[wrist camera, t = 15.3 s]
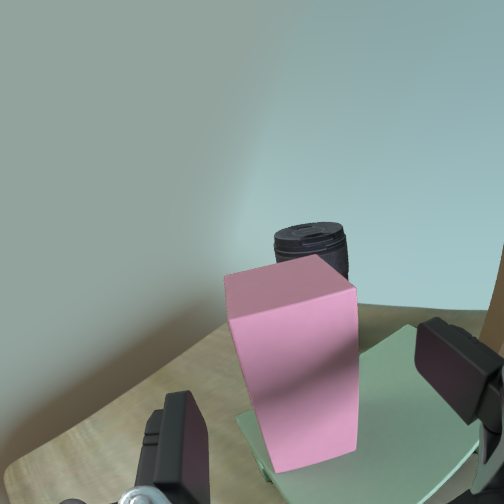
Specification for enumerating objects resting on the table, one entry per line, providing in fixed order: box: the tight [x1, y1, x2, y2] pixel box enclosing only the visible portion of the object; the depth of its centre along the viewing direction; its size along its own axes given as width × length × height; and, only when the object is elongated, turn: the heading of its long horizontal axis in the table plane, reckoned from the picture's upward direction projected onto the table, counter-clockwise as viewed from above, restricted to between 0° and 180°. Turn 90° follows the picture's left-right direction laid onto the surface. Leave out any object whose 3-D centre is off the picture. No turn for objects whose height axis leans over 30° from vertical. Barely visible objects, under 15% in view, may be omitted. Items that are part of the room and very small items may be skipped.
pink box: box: [224, 254, 359, 473], centre depth 13 cm, size 4×4×10 cm
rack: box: [235, 324, 481, 504], centre depth 15 cm, size 16×12×8 cm
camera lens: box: [274, 222, 349, 280], centre depth 34 cm, size 8×8×15 cm
